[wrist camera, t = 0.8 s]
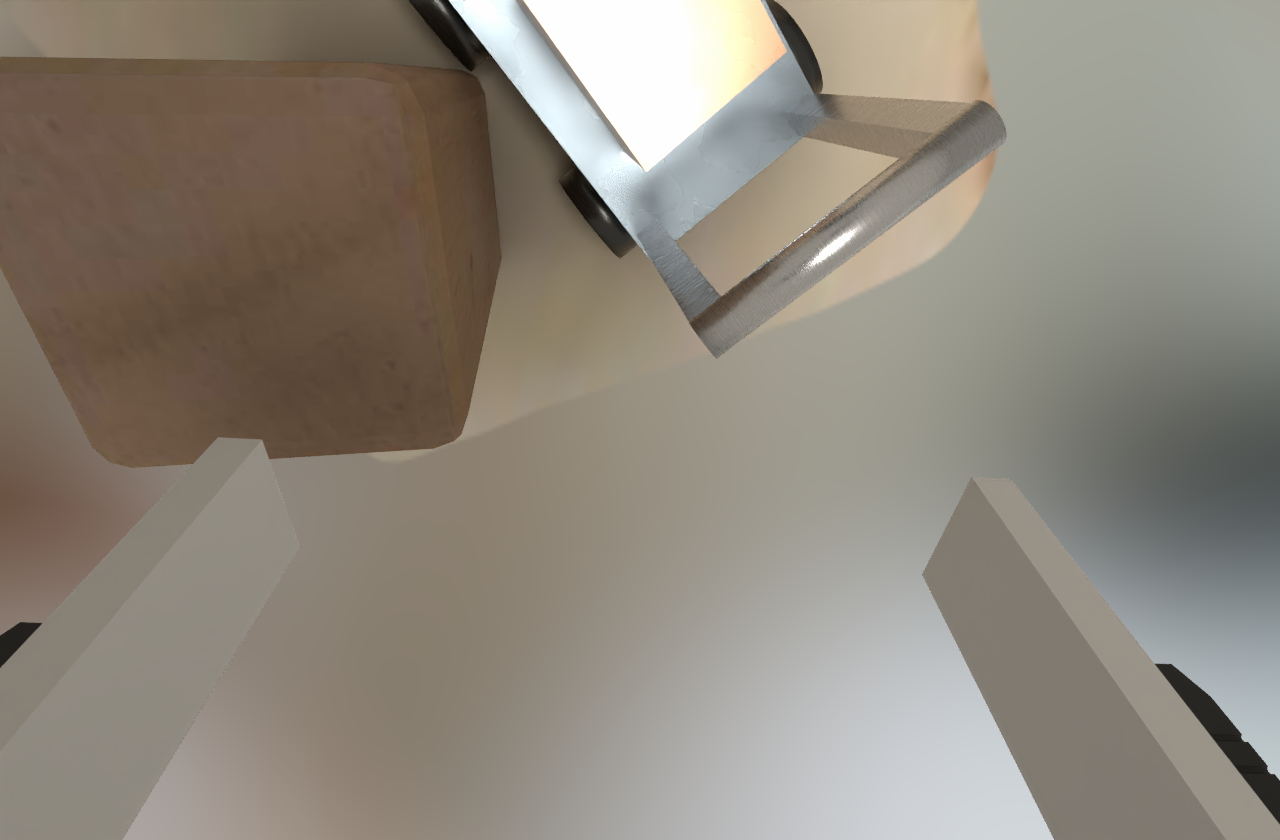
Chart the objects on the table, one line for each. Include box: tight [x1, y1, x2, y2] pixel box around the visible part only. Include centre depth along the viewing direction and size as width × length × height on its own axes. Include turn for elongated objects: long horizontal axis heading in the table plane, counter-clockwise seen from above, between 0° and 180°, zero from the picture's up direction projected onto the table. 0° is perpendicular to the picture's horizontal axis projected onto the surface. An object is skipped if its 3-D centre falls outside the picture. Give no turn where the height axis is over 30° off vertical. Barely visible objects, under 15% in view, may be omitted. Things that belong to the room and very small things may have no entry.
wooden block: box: [0, 57, 501, 468], centre depth 23 cm, size 10×10×20 cm
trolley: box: [409, 0, 1006, 358], centre depth 22 cm, size 16×13×19 cm
